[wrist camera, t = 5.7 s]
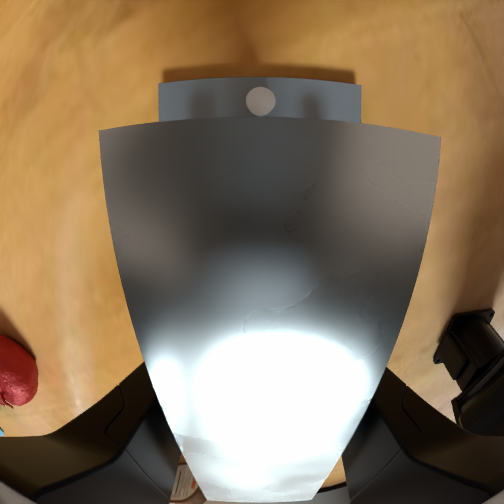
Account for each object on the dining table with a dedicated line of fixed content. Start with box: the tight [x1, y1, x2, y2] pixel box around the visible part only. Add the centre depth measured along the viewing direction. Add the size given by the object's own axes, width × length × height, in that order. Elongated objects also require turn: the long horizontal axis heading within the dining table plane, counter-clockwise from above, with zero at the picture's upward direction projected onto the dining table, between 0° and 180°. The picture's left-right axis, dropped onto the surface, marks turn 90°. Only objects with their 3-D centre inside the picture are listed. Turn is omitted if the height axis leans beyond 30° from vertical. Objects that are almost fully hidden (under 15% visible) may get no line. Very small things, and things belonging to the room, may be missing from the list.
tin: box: [170, 463, 207, 504], centre depth 34 cm, size 15×3×8 cm, turn 124°
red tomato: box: [0, 335, 38, 409], centre depth 23 cm, size 10×10×9 cm
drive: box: [99, 117, 441, 502], centre depth 8 cm, size 4×12×5 cm, turn 0°
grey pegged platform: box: [159, 77, 361, 123], centre depth 17 cm, size 12×18×4 cm, turn 0°
